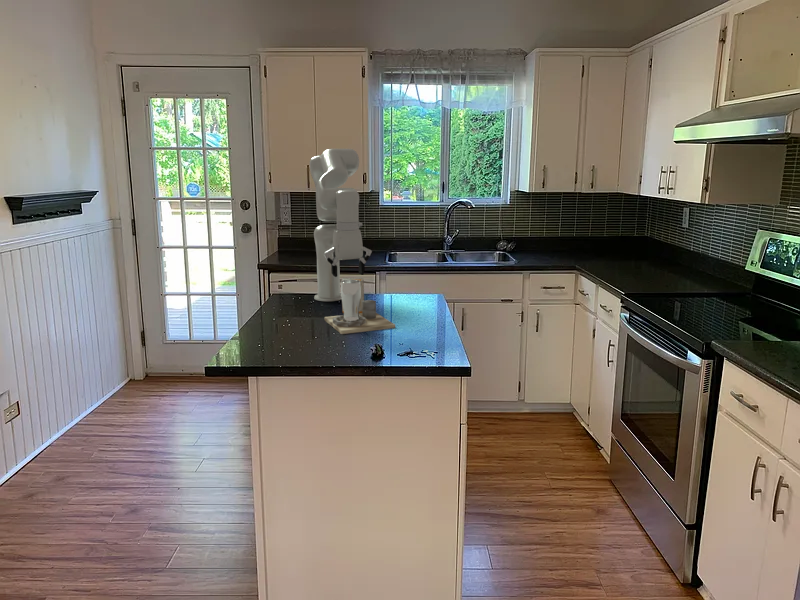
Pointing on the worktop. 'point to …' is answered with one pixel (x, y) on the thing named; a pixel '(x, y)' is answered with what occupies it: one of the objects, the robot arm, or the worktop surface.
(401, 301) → the worktop surface
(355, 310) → the beer glass
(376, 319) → the carrier board
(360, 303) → the supplement box
